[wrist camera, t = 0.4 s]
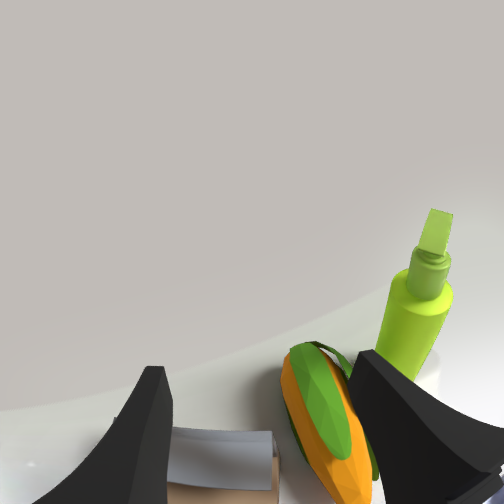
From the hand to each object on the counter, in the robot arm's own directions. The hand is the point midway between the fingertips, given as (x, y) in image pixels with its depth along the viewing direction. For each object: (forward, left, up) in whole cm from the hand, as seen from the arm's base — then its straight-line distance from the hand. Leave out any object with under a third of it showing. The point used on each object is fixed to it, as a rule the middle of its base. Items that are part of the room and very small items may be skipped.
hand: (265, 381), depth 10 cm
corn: (+4, -4, -21) cm, 21 cm away
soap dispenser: (+10, -12, -20) cm, 26 cm away
